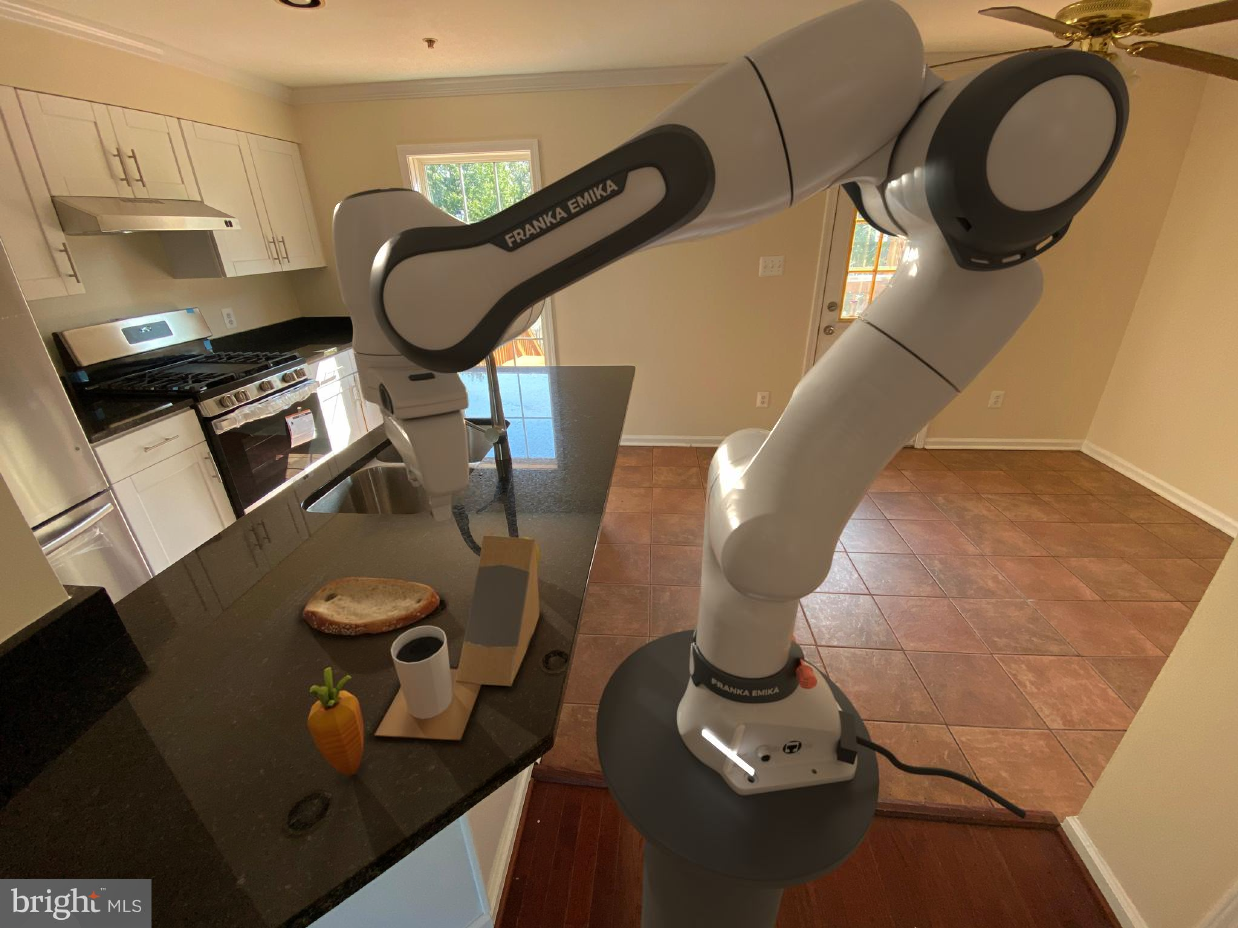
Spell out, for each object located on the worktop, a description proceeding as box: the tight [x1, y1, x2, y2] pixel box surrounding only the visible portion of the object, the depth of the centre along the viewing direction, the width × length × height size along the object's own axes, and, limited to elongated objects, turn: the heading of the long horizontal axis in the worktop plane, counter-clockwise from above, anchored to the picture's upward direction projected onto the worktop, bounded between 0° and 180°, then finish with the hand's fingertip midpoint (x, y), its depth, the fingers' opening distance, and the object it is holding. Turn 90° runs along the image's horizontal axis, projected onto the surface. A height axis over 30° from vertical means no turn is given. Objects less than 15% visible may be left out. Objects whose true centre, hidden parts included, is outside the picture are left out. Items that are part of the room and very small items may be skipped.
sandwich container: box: [456, 534, 540, 687], centre depth 74 cm, size 9×15×15 cm, turn 173°
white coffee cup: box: [390, 625, 453, 719], centre depth 65 cm, size 7×7×10 cm
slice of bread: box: [301, 576, 441, 637], centre depth 84 cm, size 18×18×4 cm
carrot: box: [307, 666, 365, 777], centre depth 55 cm, size 5×5×15 cm
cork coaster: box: [374, 668, 483, 741], centre depth 67 cm, size 11×11×1 cm
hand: (429, 499), depth 55 cm, fingers open, 8 cm apart
